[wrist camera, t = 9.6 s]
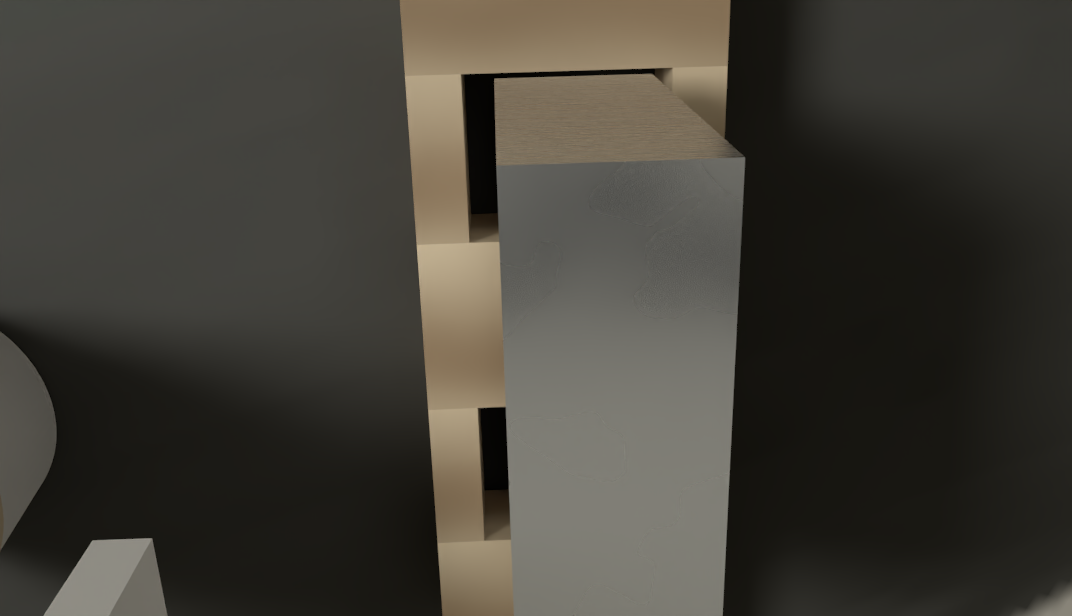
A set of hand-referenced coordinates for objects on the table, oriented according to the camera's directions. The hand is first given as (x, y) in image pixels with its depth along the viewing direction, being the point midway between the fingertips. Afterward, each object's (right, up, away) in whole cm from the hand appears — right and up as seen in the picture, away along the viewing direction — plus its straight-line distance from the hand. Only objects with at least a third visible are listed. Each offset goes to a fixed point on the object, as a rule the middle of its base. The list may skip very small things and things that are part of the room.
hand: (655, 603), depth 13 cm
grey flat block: (-1, +4, +13) cm, 14 cm away
